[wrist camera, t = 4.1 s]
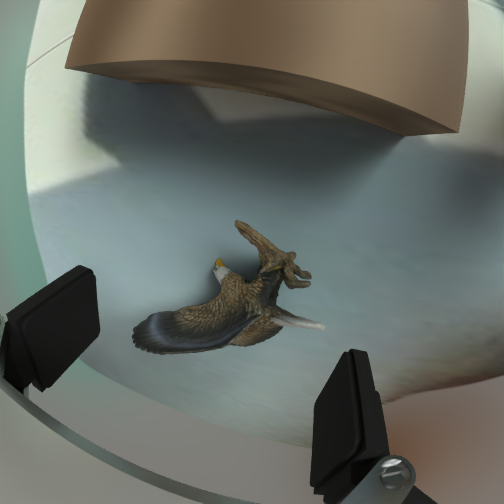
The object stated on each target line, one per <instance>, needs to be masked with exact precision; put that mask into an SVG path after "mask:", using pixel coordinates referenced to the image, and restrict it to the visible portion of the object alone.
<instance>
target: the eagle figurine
mask: <svg viewBox="0 0 504 504" xmlns="http://www.w3.org/2000/svg"><path fill="white" fill-rule="evenodd" d="M235 227H236V228H237V229H238V231H239V232H240V233H241V234H242V235H243V236H244V237H245V238H246V239H247V240H248V241H249V242H250V243H251V244H253V245H255V246H256V247H257V249H258V251H259V258H260V262H261V264H262V265H260V268H259V269H258V270H257V277H256V279H254V280H253V281H252V282H250V281H249V280H248V279H247V278H245V277H243V276H241V275H240V274H238V273H235V272H233V271H231V270H230V269H228V268H227V267H226V266H225V265H224V264H223V263H222V262H221V259H220V258H218V259H217V261H216V268H215V269H214V274H215V276H216V278H217V280H218V281H219V283H220V285H221V287H222V288H221V291H220V293H219V295H218V296H216V297H215V298H214V299H212V300H211V301H209V302H207V303H205V304H203V305H198V306H189V307H184V308H181V309H179V310H177V311H174V312H173V311H165V312H158V313H155V314H152V315H150V316H148V318H147V319H146V320H144V321H142V322H141V323H140V324H139V325H138V326H136V327H134V328H133V332H134V334H133V335H132V339H133V343H135V347H137V348H141V350H146V351H147V352H153V353H154V354H160V355H164V354H178V353H197V352H204V351H209V350H215V349H219V348H223V347H225V346H227V345H238V346H245V347H246V346H251V345H255V344H256V343H260V342H263V341H265V340H266V339H269V338H271V337H273V336H275V335H276V334H277V333H279V331H280V330H281V329H282V328H283V326H290V327H301V328H310V329H320V330H325V329H326V327H325V326H324V324H322V323H319V322H314V321H311V320H309V319H306V318H304V317H299V316H295V315H293V314H291V313H290V312H288V311H286V310H283V309H282V308H280V307H278V306H277V305H276V298H277V297H278V291H279V288H280V285H281V283H282V281H283V280H284V282H285V284H286V286H287V287H288V288H289V289H294V288H306V287H309V286H310V285H311V282H310V281H300V280H298V279H297V278H296V276H295V274H296V275H298V276H299V277H300V278H302V279H311V278H312V276H311V274H310V273H309V272H308V271H302V270H301V269H300V267H299V266H297V265H295V263H294V262H293V260H294V259H295V258H296V253H295V252H290V253H285V252H283V251H281V250H279V249H277V248H276V247H275V246H274V245H273V244H272V243H271V242H270V241H269V240H267V239H266V238H265V237H263V236H262V235H261V234H260V233H258V232H257V231H256V230H254V229H253V228H252V227H250V226H249V225H248V224H246V223H244V222H241V221H239V220H236V221H235Z"/></svg>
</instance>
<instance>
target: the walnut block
mask: <svg viewBox="0 0 504 504" xmlns="http://www.w3.org/2000/svg"><path fill="white" fill-rule="evenodd" d="M468 42H469V20H468V0H86V3H85V5H84V8H83V11H82V13H81V16H80V19H79V21H78V24H77V27H76V30H75V33H74V36H73V40H72V43H71V46H70V50H69V53H68V57H67V61H66V64H65V68H66V69H72V70H77V71H83V72H88V73H93V74H98V75H102V76H107V77H111V78H115V79H120V80H124V81H128V82H131V83H162V84H180V85H193V86H204V87H213V88H221V89H229V90H236V91H243V92H249V93H255V94H260V95H266V96H271V97H276V98H281V99H286V100H290V101H295V102H299V103H303V104H307V105H311V106H315V107H319V108H323V109H326V110H330V111H333V112H337V113H340V114H343V115H347V116H350V117H353V118H356V119H359V120H362V121H365V122H368V123H371V124H374V125H377V126H380V127H382V128H385V129H388V130H390V131H393V132H396V133H398V134H401V135H403V136H416V135H428V134H444V133H458V132H459V127H460V121H461V115H462V109H463V102H464V95H465V86H466V77H467V64H468Z"/></svg>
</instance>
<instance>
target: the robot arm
mask: <svg viewBox="0 0 504 504" xmlns="http://www.w3.org/2000/svg"><path fill="white" fill-rule="evenodd" d="M6 315H7V318H8V321H7V322H6V323H5V320H4V318H3V317H2V316H1V315H0V504H259V503H253V502H249V501H244V500H240V499H235V498H230V497H227V496H223V495H219V494H215V493H212V492H208V491H205V490H201V489H198V488H195V487H192V486H188V485H186V484H183V483H180V482H177V481H174V480H172V479H169V478H166V477H164V476H161V475H159V474H156V473H154V472H152V471H149V470H147V469H145V468H142V467H140V466H138V465H136V464H133V463H131V462H129V461H127V460H125V459H123V458H121V457H119V456H117V455H115V454H113V453H111V452H109V451H107V450H105V449H103V448H101V447H100V446H98V445H96V444H94V443H93V442H91V441H89V440H87V439H86V438H84V437H82V436H81V435H79V434H78V433H76V432H74V431H73V430H71V429H70V428H68V427H67V426H65V425H63V424H62V423H60V422H59V421H57V420H56V419H54V418H53V417H52V416H50V415H49V414H47V413H46V412H45V411H43V410H42V409H41V408H39V407H38V406H37V405H35V404H34V403H33V402H32V401H30V400H29V396H28V395H29V384H30V383H31V382H32V384H33V386H34V387H36V388H37V389H38V390H40V391H41V392H43V391H44V390H45V389H46V388H49V387H51V386H52V385H53V384H54V383H55V382H56V381H57V379H58V378H59V377H60V376H61V375H62V374H63V373H64V372H65V371H66V370H67V369H68V367H69V366H70V365H71V364H72V363H73V362H74V361H75V360H76V359H77V358H78V357H79V356H80V355H81V354H82V353H83V352H84V351H85V350H86V348H87V347H88V346H89V345H90V344H91V343H92V342H93V341H94V340H95V339H96V338H97V337H98V335H99V333H100V323H99V313H98V303H97V290H96V277H95V275H94V273H93V271H92V270H91V269H89V268H86V267H84V266H82V265H78V266H76V267H75V268H73V269H71V270H70V271H68V272H67V273H65V274H64V275H62V276H61V277H59V278H57V279H56V280H54V281H53V282H51V283H50V284H48V285H47V286H46V287H44V288H43V289H41V290H40V291H38V292H37V293H35V294H34V295H32V296H31V297H29V298H28V299H27V300H25V301H24V302H23V303H21V304H19V305H18V306H17V307H15V308H14V309H13V310H11V311H10V312H8V313H7V314H6ZM310 474H311V475H310V486H312V487H314V494H318V495H324V499H323V501H324V504H437V503H436V502H435V501H433V500H432V499H431V498H430V497H428V496H427V495H425V494H424V493H423V492H422V491H421V490H419V489H418V488H417V487H416V486H414V483H415V477H416V474H415V470H414V468H413V466H412V464H411V463H410V462H409V461H408V460H407V459H405V458H403V457H401V456H397V455H390V453H389V446H388V439H387V433H386V427H385V421H384V415H383V410H382V405H381V399H380V395H379V393H378V392H377V391H375V386H374V381H373V376H372V371H371V367H370V362H369V358H368V354H367V352H366V351H361V350H356V349H350V350H349V351H348V352H344V353H343V354H342V356H341V358H340V360H339V361H338V363H337V365H336V367H335V369H334V370H333V372H332V374H331V376H330V378H329V379H328V381H327V383H326V385H325V386H324V388H323V390H322V391H321V393H320V395H319V396H318V398H317V400H316V402H315V405H314V422H313V443H312V461H311V473H310Z"/></svg>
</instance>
